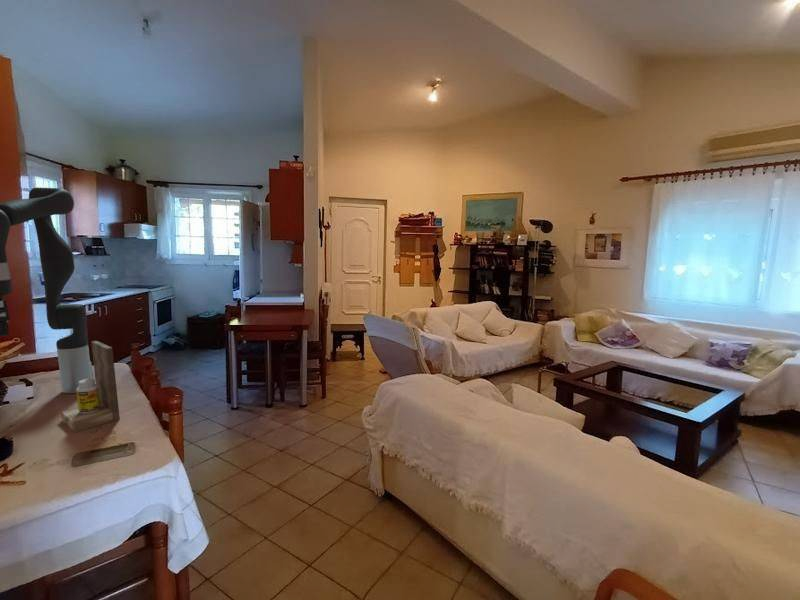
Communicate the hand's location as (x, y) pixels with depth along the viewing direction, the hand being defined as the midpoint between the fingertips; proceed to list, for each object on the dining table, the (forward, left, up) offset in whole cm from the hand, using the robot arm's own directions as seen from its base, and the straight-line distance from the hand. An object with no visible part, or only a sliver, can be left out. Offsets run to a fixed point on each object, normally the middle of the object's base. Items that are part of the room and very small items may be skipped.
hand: (0, 333), depth 118 cm
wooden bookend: (-5, +18, -30) cm, 36 cm away
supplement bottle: (-5, +19, -27) cm, 34 cm away
